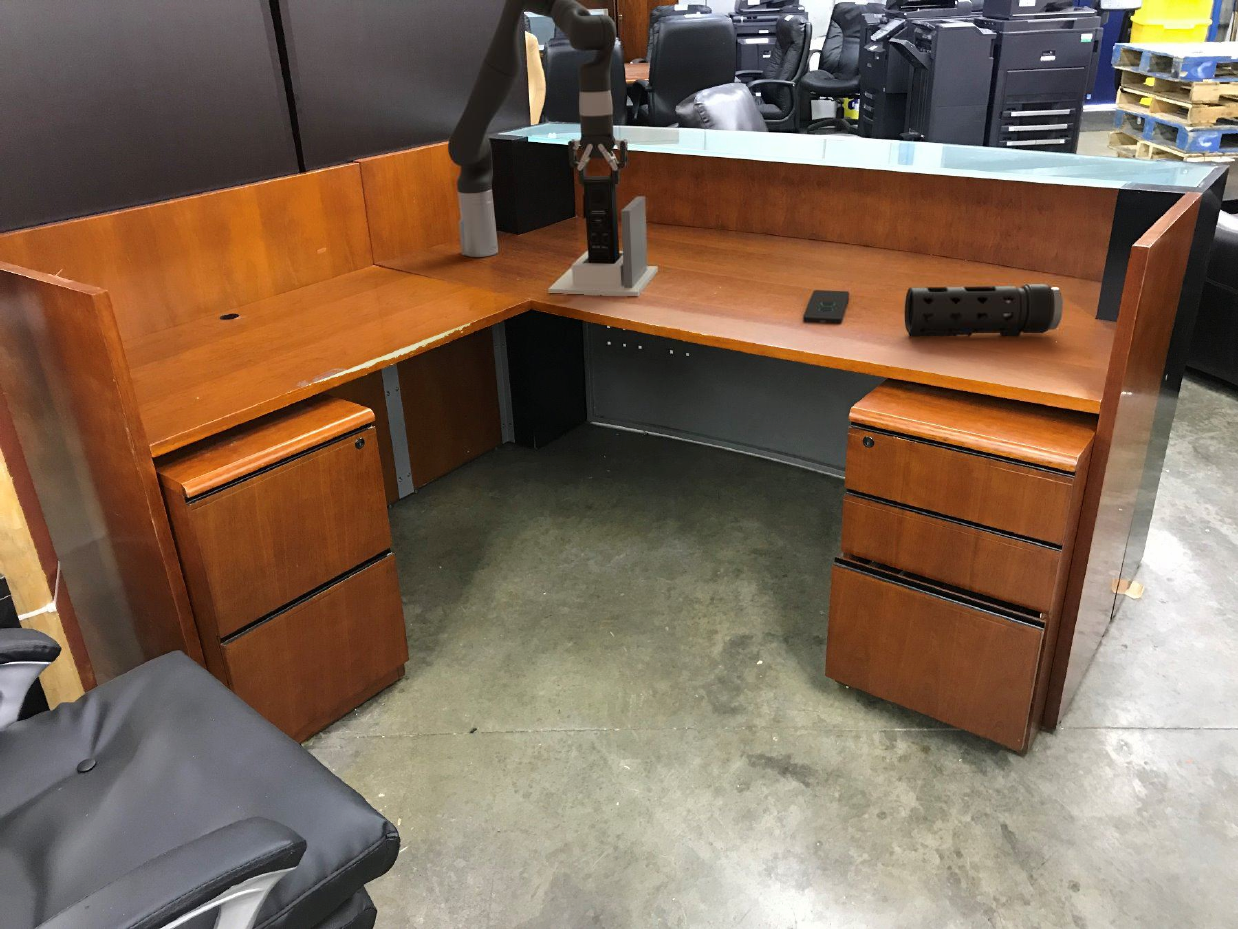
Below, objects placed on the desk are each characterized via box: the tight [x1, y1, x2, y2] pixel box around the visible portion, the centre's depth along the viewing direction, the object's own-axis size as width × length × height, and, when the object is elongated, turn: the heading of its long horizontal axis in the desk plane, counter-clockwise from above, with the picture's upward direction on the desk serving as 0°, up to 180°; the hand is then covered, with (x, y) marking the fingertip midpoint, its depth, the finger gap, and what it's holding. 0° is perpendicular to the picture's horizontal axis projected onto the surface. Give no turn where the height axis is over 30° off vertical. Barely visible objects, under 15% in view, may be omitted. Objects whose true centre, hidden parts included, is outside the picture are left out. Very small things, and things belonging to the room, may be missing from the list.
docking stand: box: [547, 196, 659, 297], centre depth 232 cm, size 22×22×19 cm
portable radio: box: [582, 167, 620, 264], centre depth 230 cm, size 8×6×25 cm
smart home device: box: [802, 289, 850, 325], centre depth 210 cm, size 8×2×20 cm
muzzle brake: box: [904, 283, 1064, 338], centre depth 189 cm, size 10×28×10 cm, turn 85°
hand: (599, 185), depth 226 cm, fingers closed on portable radio, 7 cm apart
